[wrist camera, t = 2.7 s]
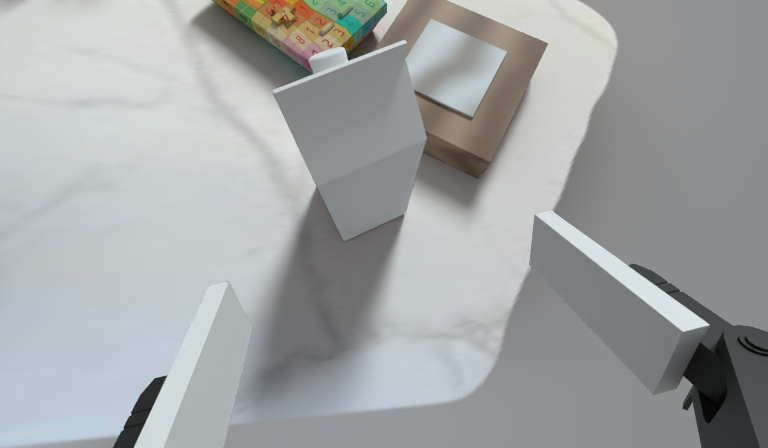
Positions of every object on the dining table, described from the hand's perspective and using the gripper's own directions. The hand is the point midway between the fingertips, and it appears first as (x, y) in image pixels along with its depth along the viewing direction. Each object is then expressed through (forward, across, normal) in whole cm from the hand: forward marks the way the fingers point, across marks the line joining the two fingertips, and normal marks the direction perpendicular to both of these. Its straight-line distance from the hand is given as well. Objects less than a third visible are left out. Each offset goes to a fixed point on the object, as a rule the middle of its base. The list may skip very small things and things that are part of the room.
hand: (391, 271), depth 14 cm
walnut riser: (+28, +12, +2) cm, 30 cm away
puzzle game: (+38, -4, +12) cm, 40 cm away
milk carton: (+20, 0, -6) cm, 21 cm away
